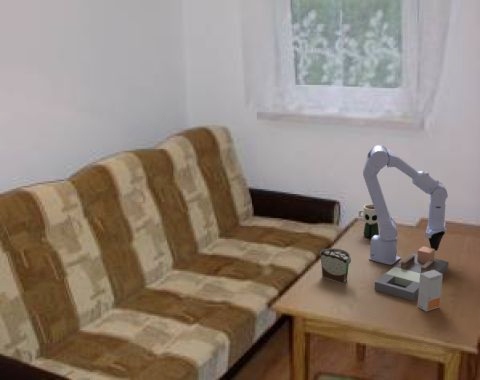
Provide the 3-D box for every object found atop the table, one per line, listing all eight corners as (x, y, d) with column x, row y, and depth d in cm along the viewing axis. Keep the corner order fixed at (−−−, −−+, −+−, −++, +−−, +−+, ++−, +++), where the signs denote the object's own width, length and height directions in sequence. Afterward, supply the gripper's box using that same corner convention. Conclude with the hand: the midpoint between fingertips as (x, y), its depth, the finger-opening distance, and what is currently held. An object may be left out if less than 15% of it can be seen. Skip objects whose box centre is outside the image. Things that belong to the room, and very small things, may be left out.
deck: (374, 289, 217) (374, 281, 216) (411, 260, 239) (412, 253, 239) (412, 300, 209) (413, 292, 208) (447, 269, 231) (448, 261, 230)
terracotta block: (417, 261, 231) (417, 250, 230) (422, 257, 234) (423, 246, 233) (429, 264, 228) (429, 253, 227) (434, 260, 232) (434, 249, 230)
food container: (357, 279, 225) (358, 253, 222) (347, 285, 221) (348, 259, 218) (328, 270, 233) (329, 245, 230) (319, 275, 229) (319, 250, 226)
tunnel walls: (400, 268, 226) (401, 261, 225) (410, 260, 232) (410, 254, 231) (424, 274, 221) (425, 268, 220) (434, 266, 226) (434, 260, 226)
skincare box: (426, 312, 201) (428, 278, 198) (417, 306, 205) (419, 273, 201) (440, 307, 204) (443, 274, 200) (431, 302, 208) (433, 269, 204)
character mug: (356, 237, 262) (357, 208, 258) (359, 231, 269) (360, 202, 265) (383, 240, 259) (384, 210, 255) (385, 234, 265) (386, 205, 261)
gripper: (439, 223, 224) (437, 258, 229) (454, 212, 235) (452, 245, 239) (420, 219, 229) (418, 254, 233) (436, 208, 239) (434, 241, 243)
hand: (434, 249), depth 236 cm, fingers closed
